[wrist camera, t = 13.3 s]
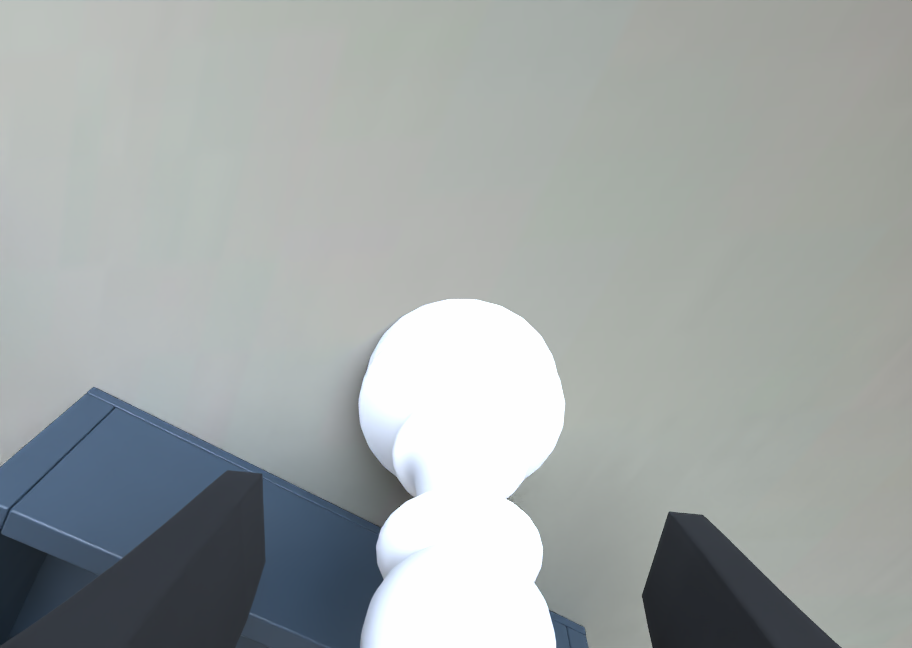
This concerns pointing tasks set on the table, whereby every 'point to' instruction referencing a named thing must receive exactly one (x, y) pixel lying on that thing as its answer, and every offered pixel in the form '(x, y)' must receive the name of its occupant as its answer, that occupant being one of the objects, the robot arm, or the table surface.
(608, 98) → the table surface
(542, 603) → the chess pawn
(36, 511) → the crate
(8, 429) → the table surface
